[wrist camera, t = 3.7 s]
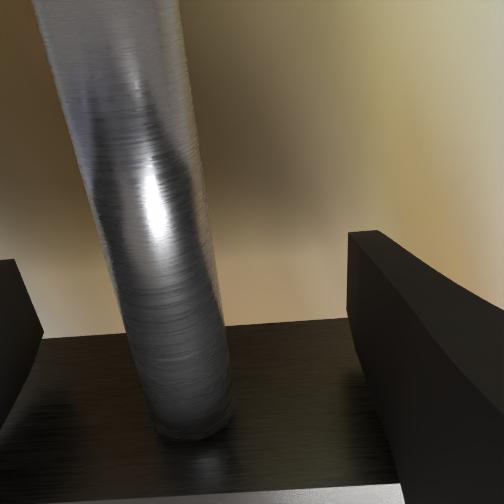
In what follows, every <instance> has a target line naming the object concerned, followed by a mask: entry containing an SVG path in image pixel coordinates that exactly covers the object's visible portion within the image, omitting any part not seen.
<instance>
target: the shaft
mask: <svg viewBox="0 0 504 504" xmlns="http://www.w3.org/2000/svg"><path fill="white" fill-rule="evenodd" d="M31 2H32V6H33V9H34V13H35V16H36V20H37V23H38V27H39V30H40V33H41V37H42V40H43V44H44V47H45V51H46V54H47V58H48V61H49V65H50V68H51V72H52V75H53V79H54V82H55V86H56V89H57V93H58V96H59V100H60V103H61V107H62V110H63V114H64V117H65V121H66V124H67V128H68V131H69V135H70V138H71V142H72V145H73V149H74V152H75V156H76V159H77V163H78V166H79V170H80V173H81V177H82V180H83V184H84V187H85V191H86V194H87V198H88V201H89V205H90V208H91V212H92V215H93V219H94V222H95V226H96V229H97V233H98V236H99V240H100V243H101V247H102V250H103V254H104V257H105V261H106V264H107V268H108V271H109V275H110V278H111V282H112V285H113V289H114V292H115V296H116V299H117V303H118V306H119V310H120V313H121V316H122V320H123V323H124V327H125V330H126V333H120V334H106V335H91V336H77V337H62V338H48V339H42V340H41V343H40V346H39V349H38V352H37V355H36V358H35V361H34V363H33V366H32V369H31V372H30V374H29V376H28V378H27V380H26V382H25V384H24V386H23V388H22V390H21V392H20V394H19V396H18V397H17V399H16V401H15V403H14V405H13V407H12V409H11V411H10V413H9V415H8V417H7V418H6V420H5V422H4V424H3V426H2V428H1V430H0V504H405V501H404V497H403V493H402V489H401V485H400V481H399V478H398V474H397V470H396V466H395V462H394V459H393V456H392V452H391V449H390V446H389V443H388V440H387V437H386V434H385V431H384V429H383V426H382V423H381V420H380V418H379V415H378V412H377V409H376V406H375V404H374V401H373V398H372V395H371V393H370V390H369V387H368V384H367V382H366V379H365V376H364V373H363V370H362V368H361V365H360V362H359V359H358V356H357V353H356V350H355V347H354V342H353V338H352V334H351V329H350V324H349V319H348V318H337V319H323V320H308V321H294V322H280V323H265V324H251V325H236V326H225V323H224V316H223V309H222V302H221V295H220V288H219V281H218V274H217V267H216V260H215V253H214V246H213V239H212V232H211V225H210V218H209V211H208V204H207V197H206V190H205V183H204V176H203V169H202V162H201V155H200V148H199V141H198V134H197V127H196V120H195V113H194V106H193V99H192V92H191V85H190V78H189V71H188V64H187V57H186V50H185V43H184V36H183V29H182V22H181V15H180V8H179V1H178V0H31Z"/></svg>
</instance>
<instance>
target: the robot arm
mask: <svg viewBox="0 0 504 504" xmlns="http://www.w3.org/2000/svg"><path fill="white" fill-rule="evenodd" d="M346 310H347V315H348V319H349V324H350V329H351V334H352V338H353V342H354V347H355V350H356V353H357V356H358V359H359V362H360V365H361V368H362V370H363V373H364V376H365V379H366V382H367V384H368V387H369V390H370V393H371V395H372V398H373V401H374V404H375V406H376V409H377V412H378V415H379V418H380V420H381V423H382V426H383V429H384V431H385V434H386V437H387V440H388V443H389V446H390V449H391V452H392V456H393V459H394V462H395V466H396V470H397V474H398V478H399V481H400V485H401V489H402V493H403V497H404V501H405V504H504V310H502V309H500V308H498V307H497V306H495V305H493V304H491V303H489V302H487V301H485V300H484V299H482V298H480V297H479V296H477V295H475V294H473V293H472V292H470V291H468V290H467V289H465V288H463V287H461V286H460V285H458V284H456V283H455V282H453V281H452V280H450V279H448V278H447V277H445V276H444V275H442V274H441V273H439V272H438V271H436V270H435V269H433V268H432V267H430V266H429V265H427V264H426V263H424V262H423V261H421V260H420V259H418V258H417V257H416V256H414V255H413V254H411V253H410V252H408V251H407V250H406V249H404V248H403V247H401V246H400V245H399V244H397V243H396V242H394V241H393V240H392V239H390V238H389V237H387V236H386V235H384V234H383V233H381V232H380V231H378V230H372V231H359V232H348V264H347V307H346ZM43 333H44V331H43V328H42V326H41V323H40V321H39V318H38V316H37V313H36V311H35V309H34V306H33V304H32V301H31V299H30V296H29V294H28V292H27V289H26V287H25V284H24V282H23V279H22V277H21V274H20V272H19V270H18V267H17V265H16V262H15V260H14V259H7V260H0V430H1V428H2V426H3V424H4V422H5V420H6V418H7V417H8V415H9V413H10V411H11V409H12V407H13V405H14V403H15V401H16V399H17V397H18V396H19V394H20V392H21V390H22V388H23V386H24V384H25V382H26V380H27V378H28V376H29V374H30V372H31V369H32V366H33V363H34V361H35V358H36V355H37V352H38V349H39V346H40V343H41V340H42V337H43Z"/></svg>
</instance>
